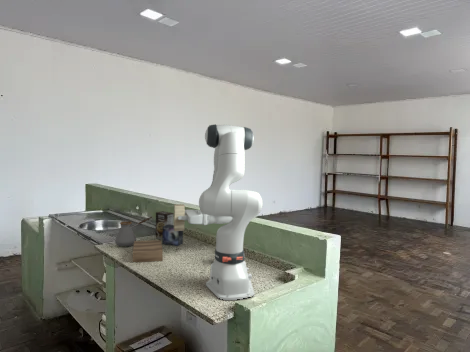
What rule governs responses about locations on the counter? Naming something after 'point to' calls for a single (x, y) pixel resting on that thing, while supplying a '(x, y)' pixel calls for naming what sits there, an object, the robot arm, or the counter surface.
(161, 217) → the coffee box
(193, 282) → the counter surface
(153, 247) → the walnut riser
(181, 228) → the birch block
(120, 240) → the coffee pot
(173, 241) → the small box
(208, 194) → the robot arm
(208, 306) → the counter surface
